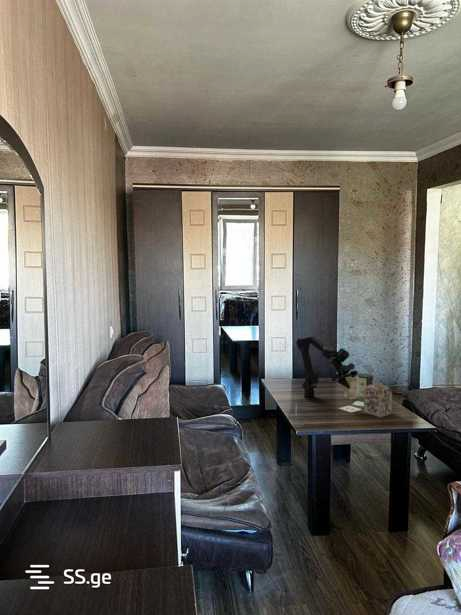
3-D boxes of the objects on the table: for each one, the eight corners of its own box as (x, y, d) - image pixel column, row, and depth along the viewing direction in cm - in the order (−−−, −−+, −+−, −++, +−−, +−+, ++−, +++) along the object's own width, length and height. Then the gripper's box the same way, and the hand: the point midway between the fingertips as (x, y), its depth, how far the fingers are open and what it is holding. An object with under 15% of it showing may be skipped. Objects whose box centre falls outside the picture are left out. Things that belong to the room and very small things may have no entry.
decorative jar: (363, 412, 267) (363, 382, 265) (374, 409, 274) (375, 379, 272) (380, 417, 257) (381, 386, 256) (392, 413, 264) (393, 383, 263)
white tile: (338, 408, 275) (338, 408, 275) (349, 406, 280) (349, 405, 280) (351, 412, 266) (351, 412, 266) (362, 409, 272) (362, 409, 272)
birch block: (344, 397, 274) (344, 377, 273) (350, 396, 277) (350, 376, 276) (351, 399, 270) (351, 379, 269) (356, 397, 272) (357, 378, 272)
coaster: (351, 405, 282) (351, 404, 282) (356, 401, 290) (356, 401, 290) (366, 407, 277) (366, 406, 277) (370, 403, 285) (370, 403, 285)
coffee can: (372, 394, 308) (372, 373, 307) (373, 398, 298) (374, 377, 297) (356, 393, 310) (356, 373, 309) (357, 397, 300) (357, 376, 299)
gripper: (335, 360, 269) (349, 382, 261) (356, 357, 280) (370, 378, 272) (325, 371, 276) (339, 393, 268) (346, 367, 287) (359, 388, 279)
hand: (352, 387), depth 271 cm, fingers closed on birch block, 5 cm apart
